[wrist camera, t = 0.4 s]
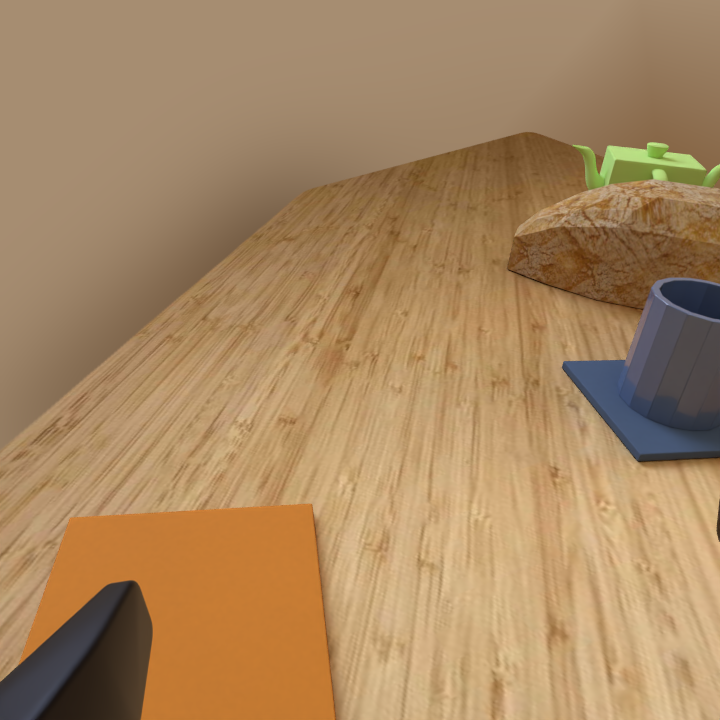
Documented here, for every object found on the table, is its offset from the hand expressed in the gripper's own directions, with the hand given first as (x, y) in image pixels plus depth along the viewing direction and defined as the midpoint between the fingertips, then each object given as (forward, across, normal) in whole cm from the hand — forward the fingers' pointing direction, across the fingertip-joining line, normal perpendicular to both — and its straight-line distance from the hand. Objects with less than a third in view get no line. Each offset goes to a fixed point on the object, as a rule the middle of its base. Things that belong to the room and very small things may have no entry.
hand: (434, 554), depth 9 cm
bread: (+48, -34, +14) cm, 61 cm away
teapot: (+69, -39, +12) cm, 80 cm away
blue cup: (+30, -21, +15) cm, 39 cm away
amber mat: (+13, +10, +13) cm, 21 cm away
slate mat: (+30, -21, +15) cm, 39 cm away
